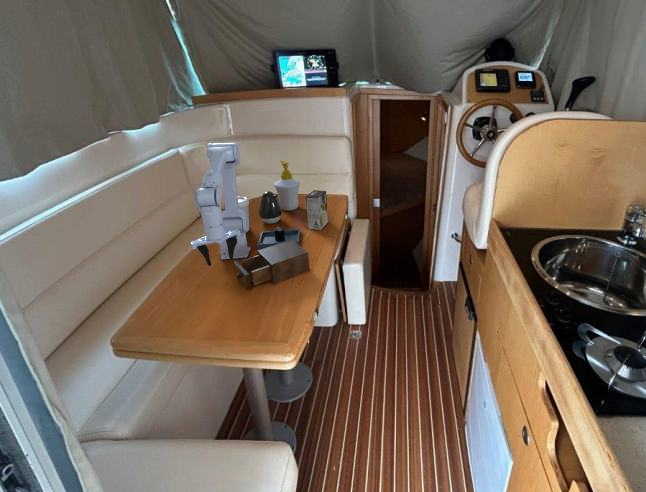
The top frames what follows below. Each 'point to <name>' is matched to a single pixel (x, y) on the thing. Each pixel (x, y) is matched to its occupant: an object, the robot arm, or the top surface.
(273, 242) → the tray
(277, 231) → the spice tin
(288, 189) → the soap bottle
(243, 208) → the coffee cup
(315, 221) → the coffee box
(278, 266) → the cabinet
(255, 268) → the drawer
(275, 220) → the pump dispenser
